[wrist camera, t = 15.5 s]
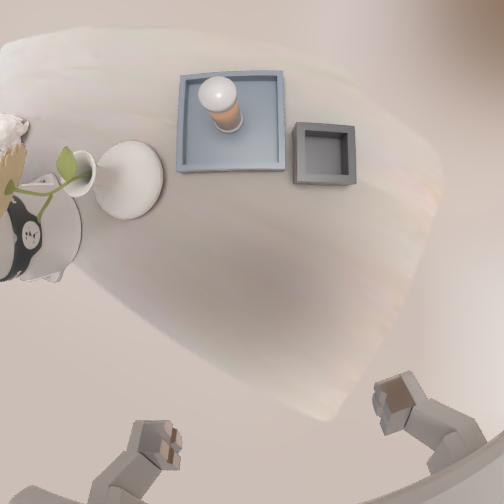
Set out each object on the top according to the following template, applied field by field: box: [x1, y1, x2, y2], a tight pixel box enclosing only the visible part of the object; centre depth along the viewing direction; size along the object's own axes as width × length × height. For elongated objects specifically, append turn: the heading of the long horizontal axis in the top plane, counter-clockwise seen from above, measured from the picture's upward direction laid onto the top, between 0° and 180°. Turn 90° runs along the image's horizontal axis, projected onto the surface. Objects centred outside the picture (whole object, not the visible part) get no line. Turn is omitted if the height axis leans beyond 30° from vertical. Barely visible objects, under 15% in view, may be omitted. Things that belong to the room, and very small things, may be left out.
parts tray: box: [176, 71, 285, 173], centre depth 35 cm, size 14×14×2 cm
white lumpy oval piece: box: [0, 113, 29, 151], centre depth 33 cm, size 6×8×12 cm
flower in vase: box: [0, 140, 163, 224], centre depth 26 cm, size 13×11×25 cm
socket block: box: [293, 122, 356, 185], centre depth 35 cm, size 7×7×4 cm
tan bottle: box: [198, 76, 243, 134], centre depth 30 cm, size 4×4×11 cm
